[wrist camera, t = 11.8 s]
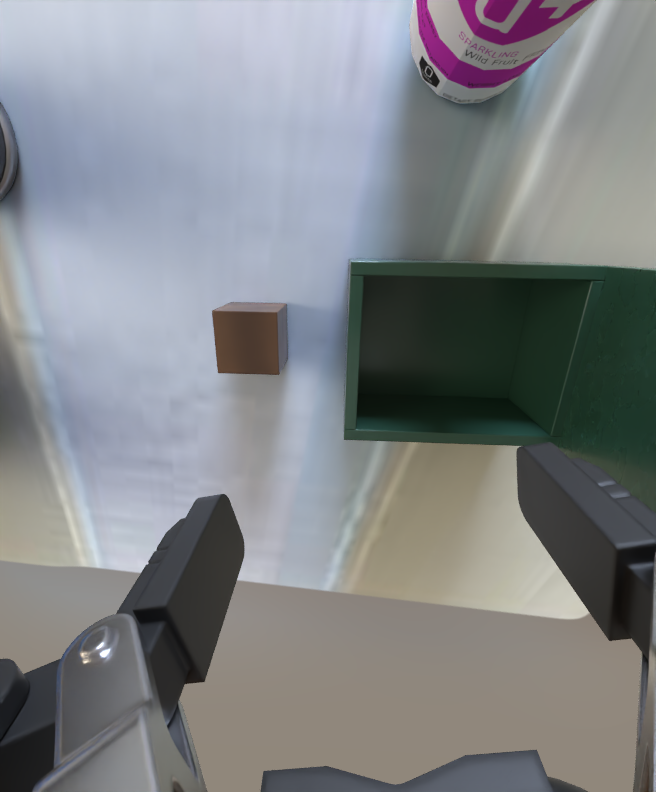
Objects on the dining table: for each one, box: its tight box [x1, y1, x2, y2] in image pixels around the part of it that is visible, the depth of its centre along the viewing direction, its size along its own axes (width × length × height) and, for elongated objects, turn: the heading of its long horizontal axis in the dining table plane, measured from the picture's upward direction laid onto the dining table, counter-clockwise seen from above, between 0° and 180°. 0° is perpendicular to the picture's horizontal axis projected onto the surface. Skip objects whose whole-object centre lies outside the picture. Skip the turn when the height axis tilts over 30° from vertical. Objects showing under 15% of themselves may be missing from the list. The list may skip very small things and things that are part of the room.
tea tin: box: [344, 259, 608, 447], centre depth 27 cm, size 15×12×8 cm
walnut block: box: [212, 302, 288, 375], centre depth 29 cm, size 5×5×5 cm
